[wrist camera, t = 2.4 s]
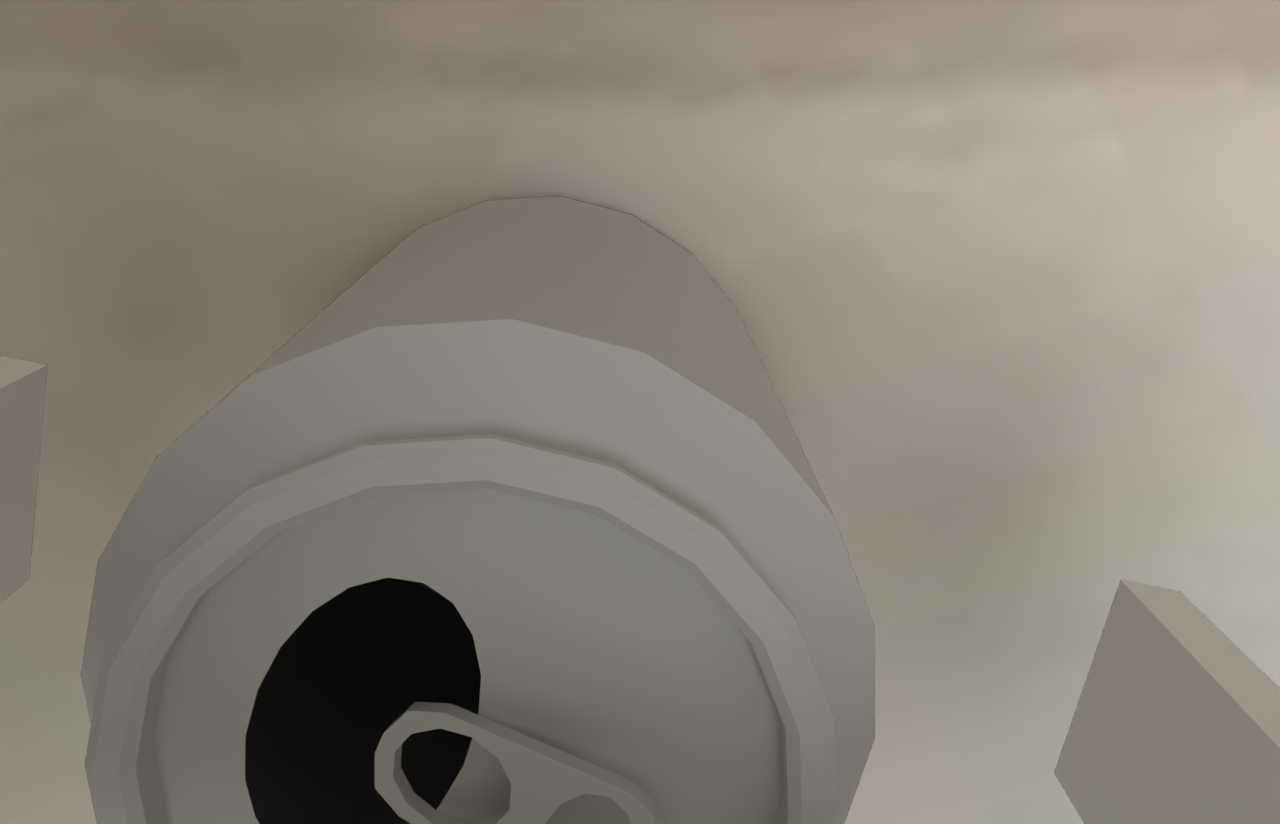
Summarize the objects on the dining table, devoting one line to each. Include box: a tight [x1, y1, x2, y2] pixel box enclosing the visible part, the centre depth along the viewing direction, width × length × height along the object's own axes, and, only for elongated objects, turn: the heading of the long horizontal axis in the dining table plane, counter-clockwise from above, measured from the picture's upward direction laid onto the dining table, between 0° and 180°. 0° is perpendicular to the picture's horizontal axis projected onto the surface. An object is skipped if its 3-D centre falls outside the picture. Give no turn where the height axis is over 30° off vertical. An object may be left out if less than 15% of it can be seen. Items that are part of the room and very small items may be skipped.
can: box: [81, 196, 875, 824], centre depth 16 cm, size 8×8×12 cm
